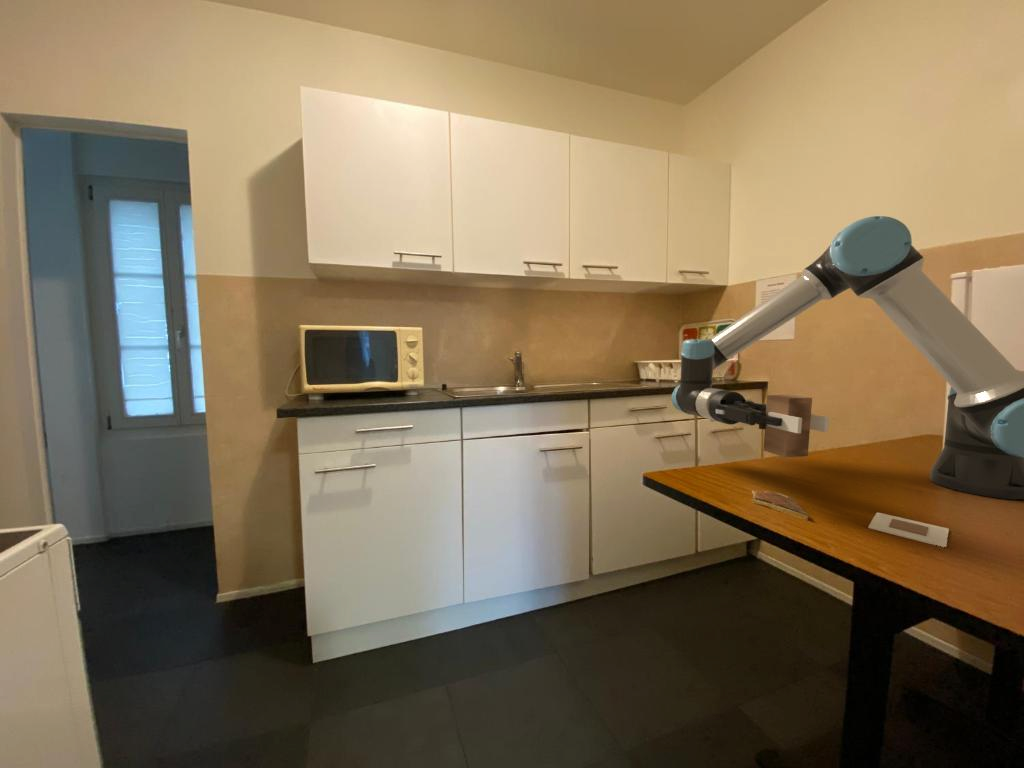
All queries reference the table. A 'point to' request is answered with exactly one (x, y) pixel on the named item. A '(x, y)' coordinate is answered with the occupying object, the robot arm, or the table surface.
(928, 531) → the swatch
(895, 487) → the table surface
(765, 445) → the walnut block
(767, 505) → the shard
